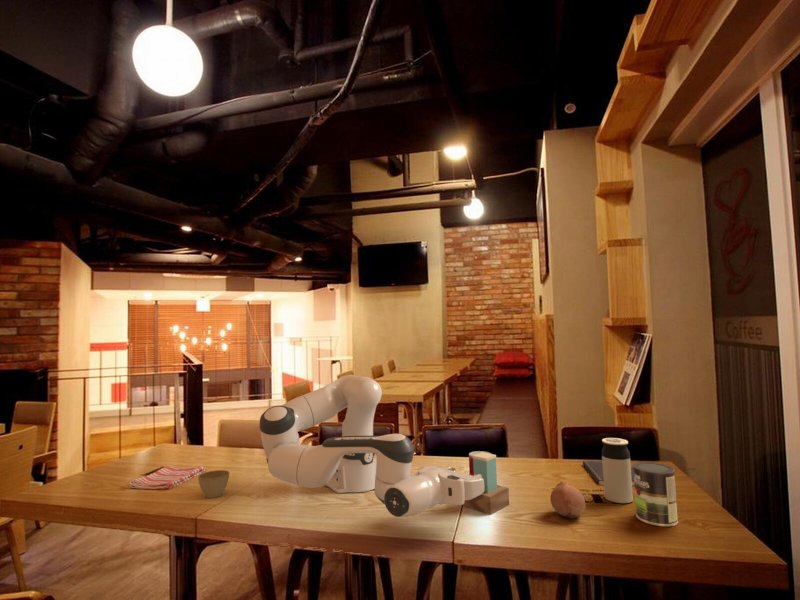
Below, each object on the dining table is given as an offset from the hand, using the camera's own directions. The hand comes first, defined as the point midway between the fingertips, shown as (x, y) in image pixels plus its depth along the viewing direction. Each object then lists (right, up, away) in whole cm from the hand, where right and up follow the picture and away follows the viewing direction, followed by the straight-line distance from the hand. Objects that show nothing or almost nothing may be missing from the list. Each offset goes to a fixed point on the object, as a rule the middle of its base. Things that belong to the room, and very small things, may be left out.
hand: (466, 473), depth 130 cm
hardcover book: (+58, -13, +31) cm, 67 cm away
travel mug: (+49, -11, +8) cm, 51 cm away
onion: (+29, -11, -3) cm, 31 cm away
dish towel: (-109, -19, +41) cm, 118 cm away
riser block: (+7, -12, +6) cm, 15 cm away
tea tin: (+7, -7, +6) cm, 12 cm away
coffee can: (+52, -10, -7) cm, 54 cm away
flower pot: (-84, -16, +22) cm, 88 cm away
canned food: (+9, -14, +23) cm, 28 cm away
